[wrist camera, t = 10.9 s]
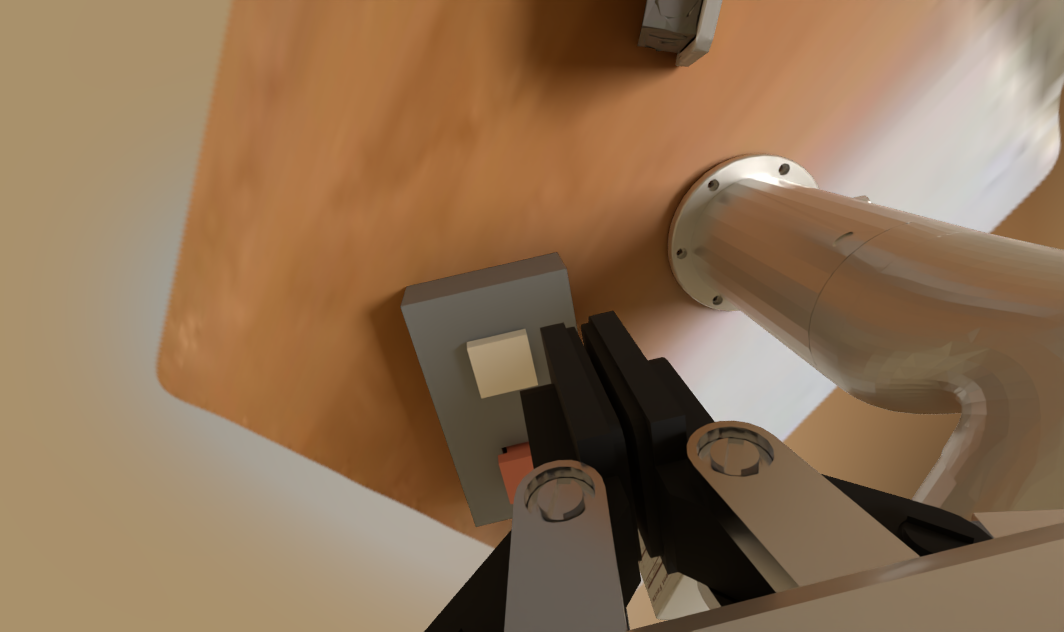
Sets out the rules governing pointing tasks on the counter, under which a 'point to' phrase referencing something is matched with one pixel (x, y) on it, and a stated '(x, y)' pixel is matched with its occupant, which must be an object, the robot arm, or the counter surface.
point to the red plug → (515, 467)
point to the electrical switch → (680, 27)
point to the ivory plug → (502, 363)
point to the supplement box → (669, 589)
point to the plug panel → (441, 346)
